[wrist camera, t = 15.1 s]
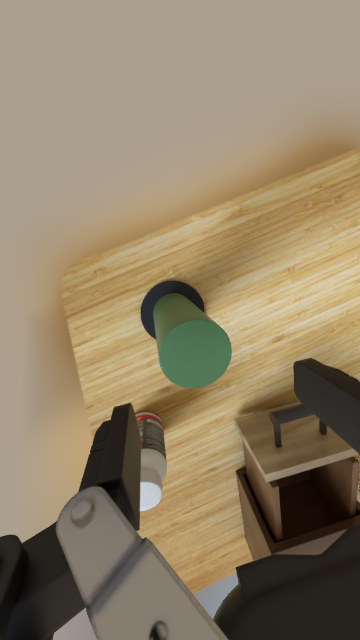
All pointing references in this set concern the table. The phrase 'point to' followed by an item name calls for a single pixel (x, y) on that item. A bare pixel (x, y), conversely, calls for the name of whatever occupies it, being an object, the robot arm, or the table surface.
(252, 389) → the table surface
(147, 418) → the pill bottle
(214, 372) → the tin
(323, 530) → the cabinet
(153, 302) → the coaster
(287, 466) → the drawer
